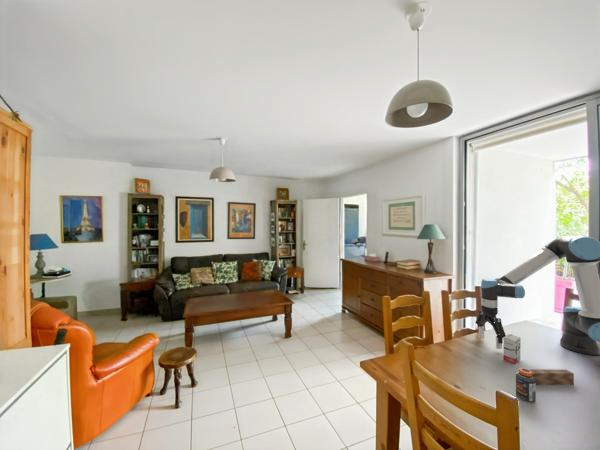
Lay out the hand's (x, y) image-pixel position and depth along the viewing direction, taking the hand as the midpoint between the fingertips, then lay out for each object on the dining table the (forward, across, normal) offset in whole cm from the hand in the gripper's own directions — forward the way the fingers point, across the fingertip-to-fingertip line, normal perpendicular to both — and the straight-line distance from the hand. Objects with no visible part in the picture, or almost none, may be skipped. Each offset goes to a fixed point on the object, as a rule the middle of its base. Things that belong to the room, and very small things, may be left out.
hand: (489, 342), depth 143 cm
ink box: (+2, +15, 0) cm, 15 cm away
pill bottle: (+2, +44, -19) cm, 48 cm away
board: (+2, +34, 0) cm, 34 cm away
